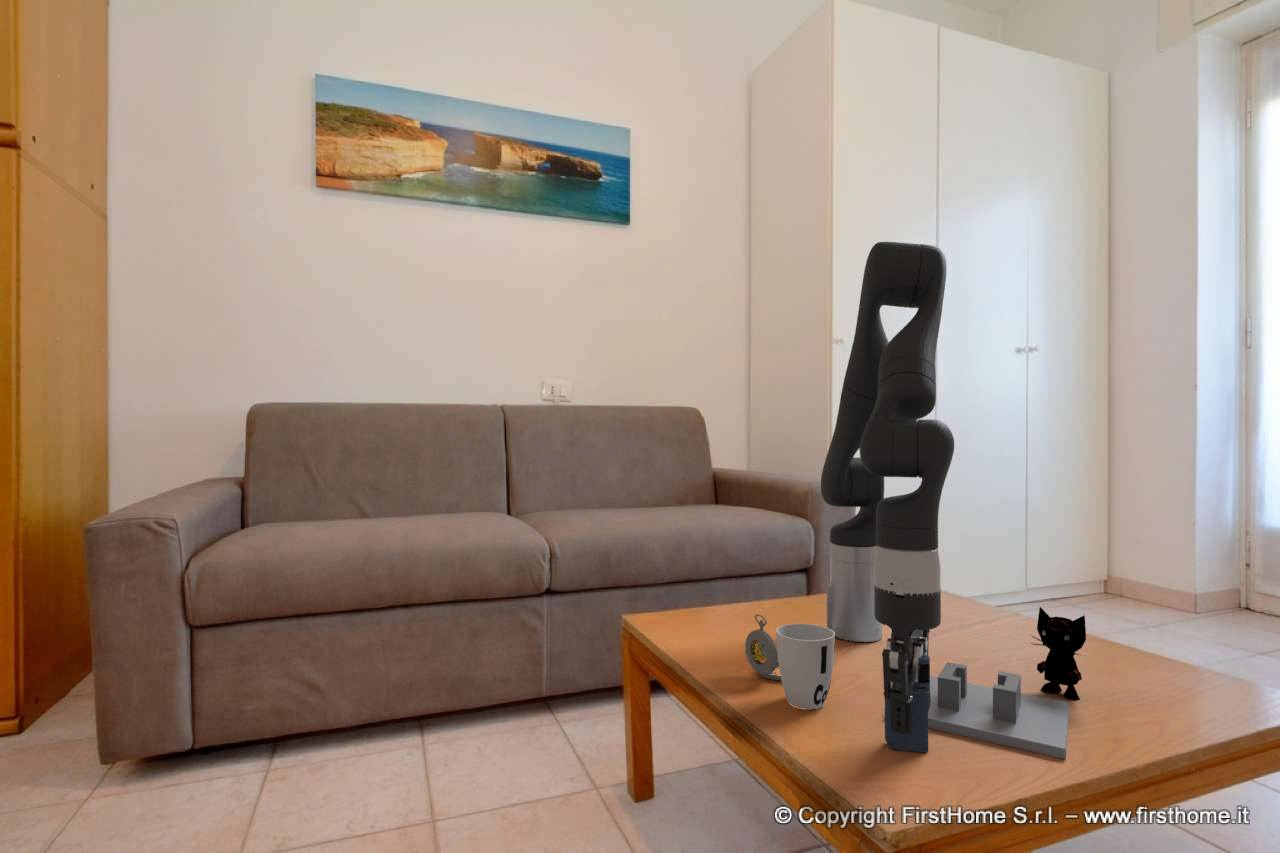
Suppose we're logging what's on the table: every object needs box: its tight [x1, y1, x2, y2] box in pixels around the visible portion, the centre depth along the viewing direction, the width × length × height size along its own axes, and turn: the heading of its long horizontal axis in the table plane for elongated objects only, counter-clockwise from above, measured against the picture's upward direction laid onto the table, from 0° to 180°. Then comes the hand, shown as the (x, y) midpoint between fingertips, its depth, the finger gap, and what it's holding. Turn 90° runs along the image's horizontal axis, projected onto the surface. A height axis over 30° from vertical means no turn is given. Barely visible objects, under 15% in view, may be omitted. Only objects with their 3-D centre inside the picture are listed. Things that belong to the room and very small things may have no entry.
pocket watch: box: [745, 614, 782, 681], centre depth 105 cm, size 8×8×10 cm
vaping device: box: [884, 649, 931, 753], centre depth 81 cm, size 3×5×12 cm, turn 78°
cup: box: [775, 623, 836, 710], centre depth 95 cm, size 8×8×10 cm
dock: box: [928, 661, 1070, 760], centre depth 90 cm, size 20×16×5 cm
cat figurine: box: [1029, 606, 1087, 701], centre depth 98 cm, size 7×7×12 cm
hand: (907, 721), depth 81 cm, fingers open, 6 cm apart
